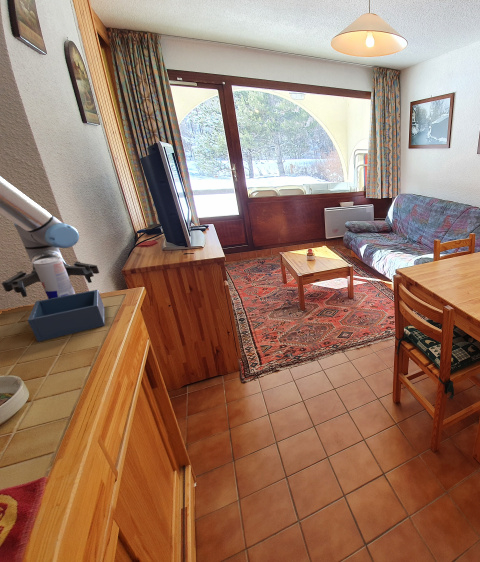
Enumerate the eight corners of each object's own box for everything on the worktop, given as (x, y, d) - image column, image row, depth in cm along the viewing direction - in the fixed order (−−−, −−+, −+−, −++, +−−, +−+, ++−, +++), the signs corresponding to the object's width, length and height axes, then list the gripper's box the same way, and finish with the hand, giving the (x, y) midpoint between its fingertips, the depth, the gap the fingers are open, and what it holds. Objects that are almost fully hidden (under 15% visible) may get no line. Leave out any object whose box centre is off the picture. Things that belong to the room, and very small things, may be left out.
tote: (37, 342, 75) (27, 320, 72) (44, 321, 84) (35, 301, 81) (104, 325, 82) (97, 305, 80) (104, 307, 91) (97, 289, 89)
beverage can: (79, 302, 94) (60, 255, 88) (80, 308, 91) (61, 260, 85) (53, 307, 91) (32, 259, 85) (54, 314, 87) (32, 264, 81)
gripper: (102, 267, 108) (117, 284, 95) (-4, 288, 91) (-4, 312, 78) (95, 247, 105) (109, 261, 92) (-16, 264, 88) (-18, 285, 75)
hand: (57, 284), depth 85 cm, fingers open, 12 cm apart
